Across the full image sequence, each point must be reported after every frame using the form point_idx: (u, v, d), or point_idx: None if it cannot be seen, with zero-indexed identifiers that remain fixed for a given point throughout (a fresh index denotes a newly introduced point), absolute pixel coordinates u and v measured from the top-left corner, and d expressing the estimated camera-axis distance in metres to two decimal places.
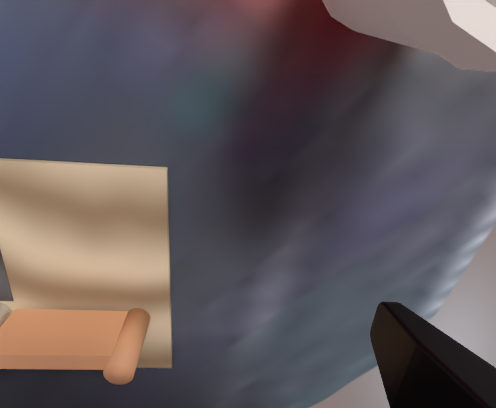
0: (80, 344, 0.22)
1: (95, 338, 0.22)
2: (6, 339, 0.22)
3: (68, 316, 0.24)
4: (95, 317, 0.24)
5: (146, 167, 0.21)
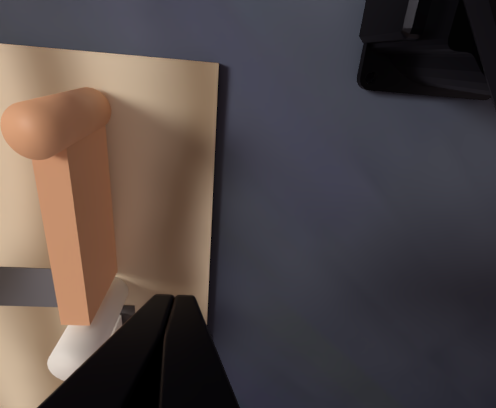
0: None
1: None
2: None
3: None
4: None
5: None
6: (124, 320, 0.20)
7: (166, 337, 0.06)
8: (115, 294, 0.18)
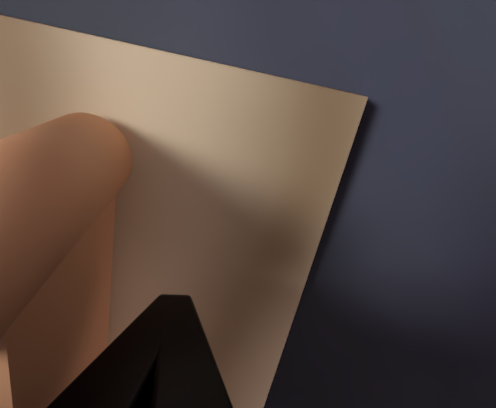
0: None
1: None
2: None
3: None
4: None
5: None
6: None
7: (172, 337, 0.06)
8: None
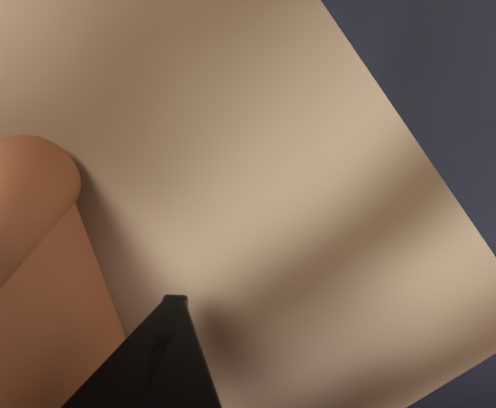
0: None
1: None
2: None
3: None
4: None
5: None
6: None
7: (183, 338, 0.06)
8: None
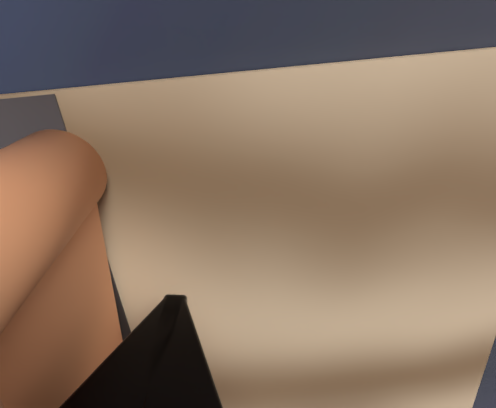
0: None
1: None
2: None
3: None
4: None
5: None
6: None
7: (182, 338, 0.06)
8: None
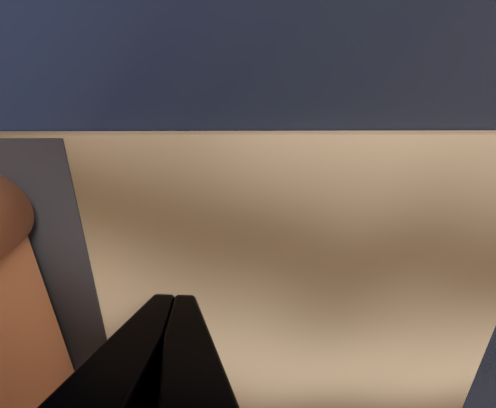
0: None
1: None
2: None
3: None
4: None
5: None
6: None
7: (166, 337, 0.06)
8: None
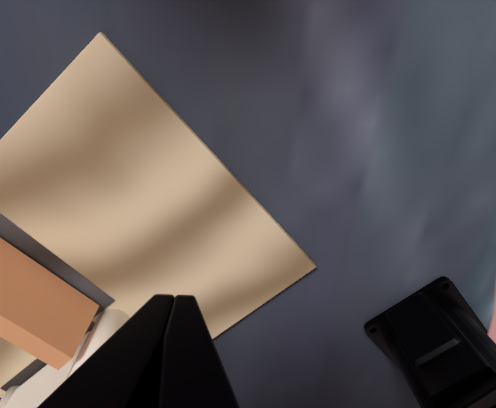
0: None
1: None
2: None
3: None
4: None
5: (83, 50, 0.16)
6: None
7: (166, 337, 0.06)
8: None
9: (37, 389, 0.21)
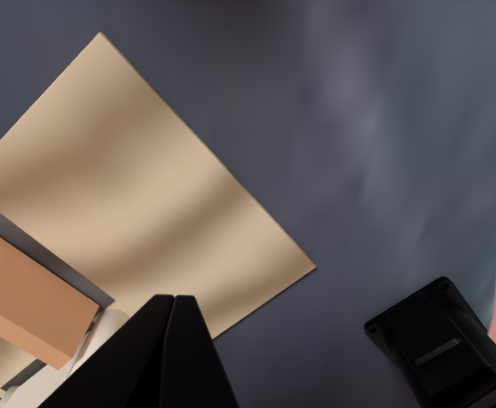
0: None
1: None
2: None
3: None
4: None
5: (83, 51, 0.16)
6: None
7: (166, 337, 0.06)
8: None
9: (37, 389, 0.21)
